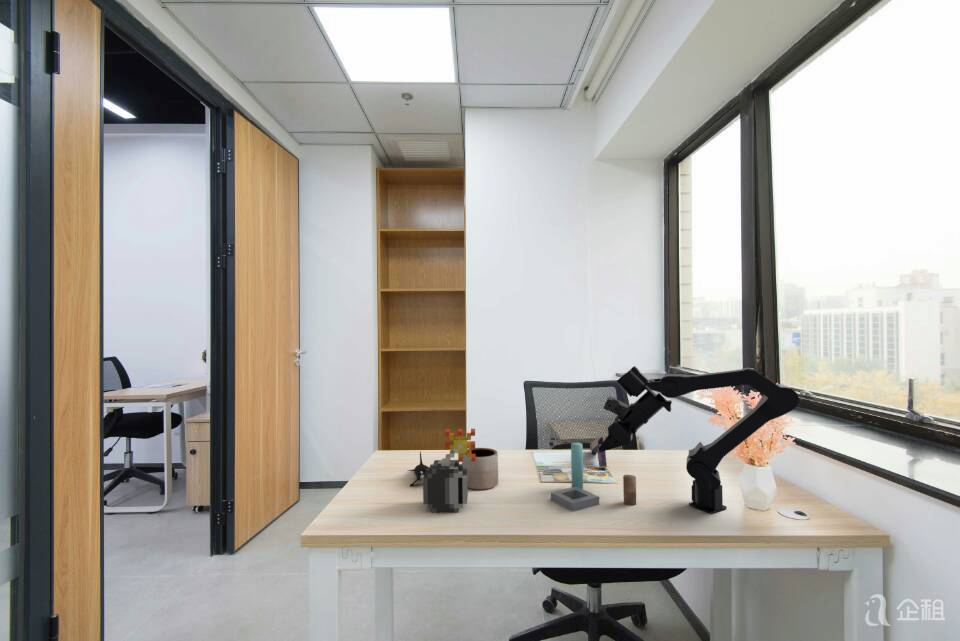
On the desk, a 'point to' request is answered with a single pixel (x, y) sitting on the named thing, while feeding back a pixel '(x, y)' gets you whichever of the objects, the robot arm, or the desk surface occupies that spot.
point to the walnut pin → (629, 490)
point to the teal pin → (577, 464)
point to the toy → (419, 470)
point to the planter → (482, 468)
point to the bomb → (449, 476)
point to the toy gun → (601, 455)
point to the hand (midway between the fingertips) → (602, 446)
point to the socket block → (582, 502)
